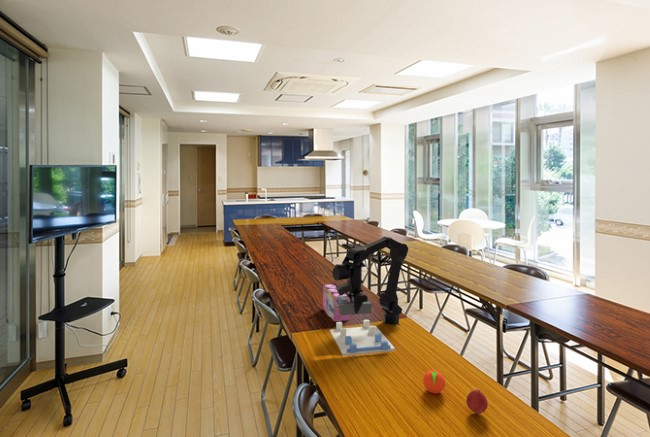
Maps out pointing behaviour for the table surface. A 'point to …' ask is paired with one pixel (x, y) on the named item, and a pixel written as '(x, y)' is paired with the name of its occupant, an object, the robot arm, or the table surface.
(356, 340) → the board
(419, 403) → the table surface
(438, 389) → the clementine
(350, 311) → the long grey block
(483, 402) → the onion
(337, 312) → the pink drink multipack
